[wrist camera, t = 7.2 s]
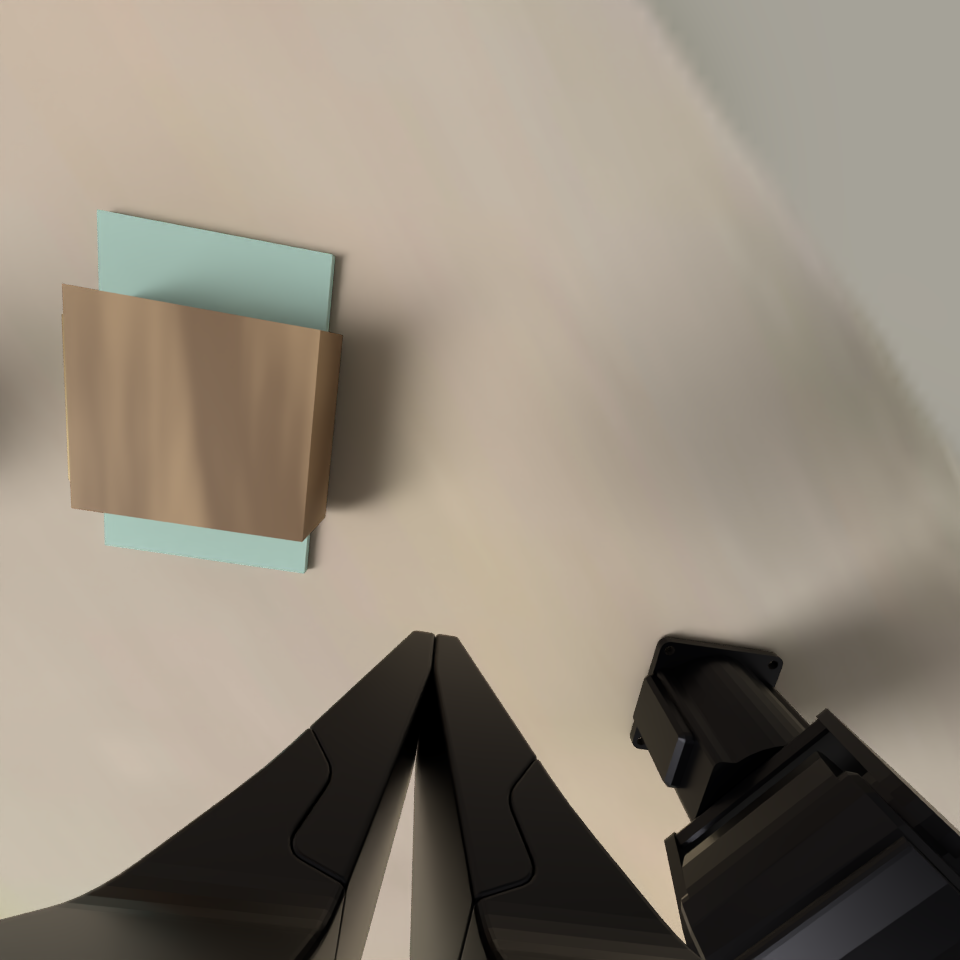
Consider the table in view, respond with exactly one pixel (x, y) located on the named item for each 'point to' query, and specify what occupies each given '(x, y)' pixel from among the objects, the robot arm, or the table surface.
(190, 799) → the table surface
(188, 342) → the menu stand
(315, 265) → the mat
